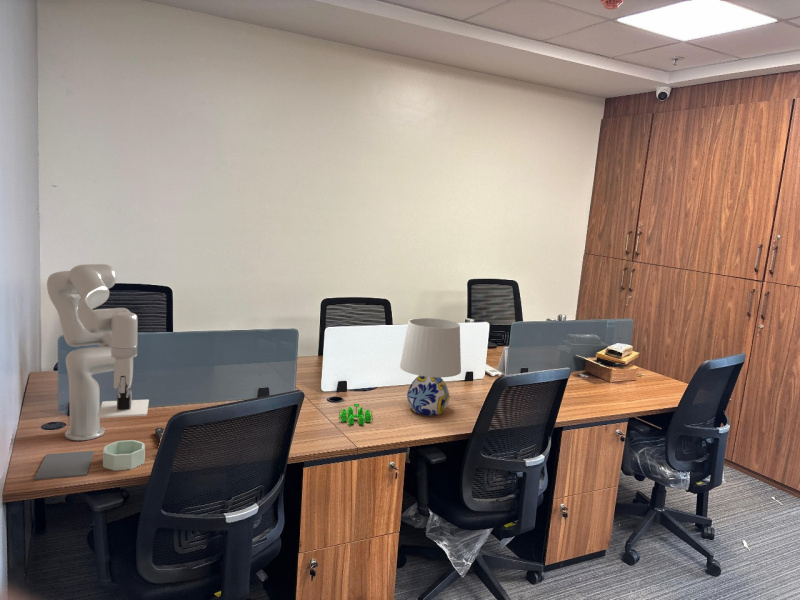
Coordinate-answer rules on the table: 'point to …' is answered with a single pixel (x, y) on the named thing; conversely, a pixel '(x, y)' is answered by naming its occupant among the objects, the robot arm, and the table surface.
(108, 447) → the bowl
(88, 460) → the mat
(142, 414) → the lid
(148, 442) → the table surface
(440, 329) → the table lamp
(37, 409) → the table surface
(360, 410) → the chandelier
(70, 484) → the table surface
